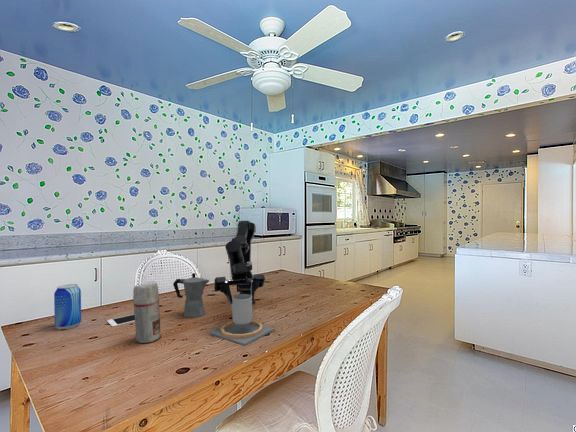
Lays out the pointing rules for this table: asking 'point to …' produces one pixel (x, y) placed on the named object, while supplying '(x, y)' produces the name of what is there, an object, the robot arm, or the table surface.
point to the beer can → (67, 306)
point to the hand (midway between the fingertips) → (242, 302)
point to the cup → (242, 308)
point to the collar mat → (242, 332)
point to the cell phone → (122, 320)
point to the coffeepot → (192, 295)
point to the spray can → (146, 312)
